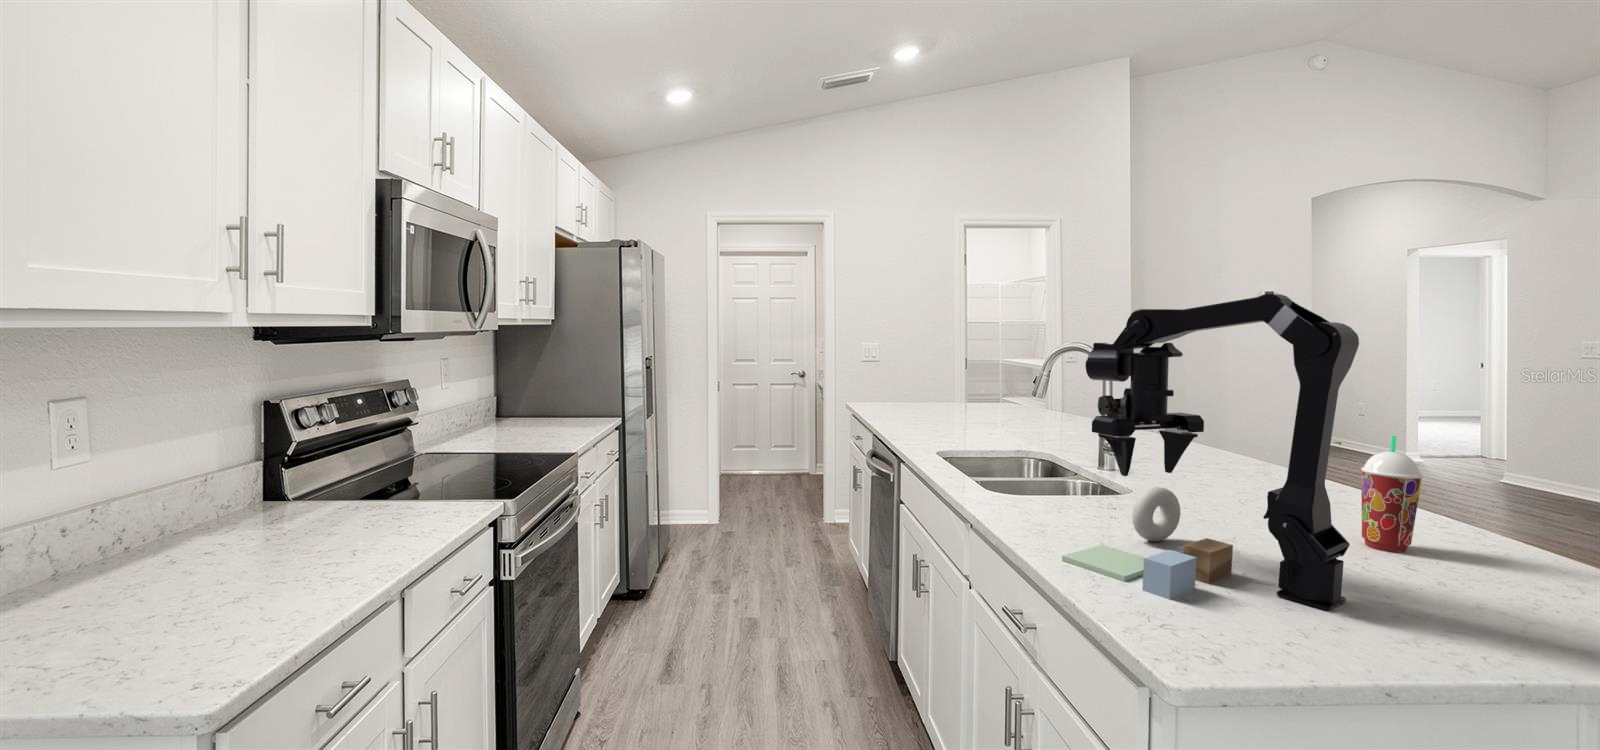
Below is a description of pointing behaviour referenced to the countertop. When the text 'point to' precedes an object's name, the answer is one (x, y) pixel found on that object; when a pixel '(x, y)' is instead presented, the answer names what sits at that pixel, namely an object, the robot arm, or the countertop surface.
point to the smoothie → (1389, 500)
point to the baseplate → (1108, 562)
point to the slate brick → (1169, 574)
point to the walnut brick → (1210, 559)
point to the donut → (1146, 510)
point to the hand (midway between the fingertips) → (1146, 474)
